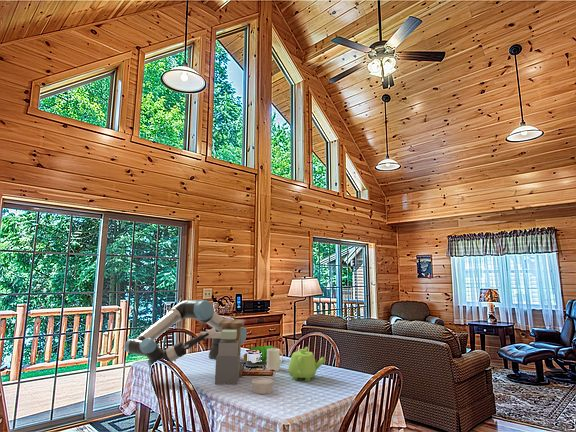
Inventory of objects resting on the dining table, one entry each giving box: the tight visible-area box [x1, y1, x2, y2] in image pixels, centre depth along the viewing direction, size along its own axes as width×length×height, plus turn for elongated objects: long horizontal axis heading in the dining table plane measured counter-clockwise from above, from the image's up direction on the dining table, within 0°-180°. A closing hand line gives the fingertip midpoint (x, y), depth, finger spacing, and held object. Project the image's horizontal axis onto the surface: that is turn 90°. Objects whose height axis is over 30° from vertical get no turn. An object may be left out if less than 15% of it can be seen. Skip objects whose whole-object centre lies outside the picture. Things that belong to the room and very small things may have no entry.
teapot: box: [288, 346, 327, 382], centre depth 219 cm, size 25×22×16 cm
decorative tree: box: [243, 345, 278, 363], centre depth 257 cm, size 11×12×30 cm
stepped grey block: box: [214, 340, 241, 385], centre depth 209 cm, size 12×12×21 cm
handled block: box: [199, 330, 237, 339], centre depth 211 cm, size 20×8×4 cm, turn 93°
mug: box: [266, 347, 284, 372], centre depth 237 cm, size 12×8×12 cm
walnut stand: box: [219, 318, 246, 378], centre depth 227 cm, size 14×20×30 cm
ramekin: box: [251, 377, 275, 395], centre depth 191 cm, size 11×11×5 cm
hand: (214, 330), depth 211 cm, fingers closed on handled block, 3 cm apart
